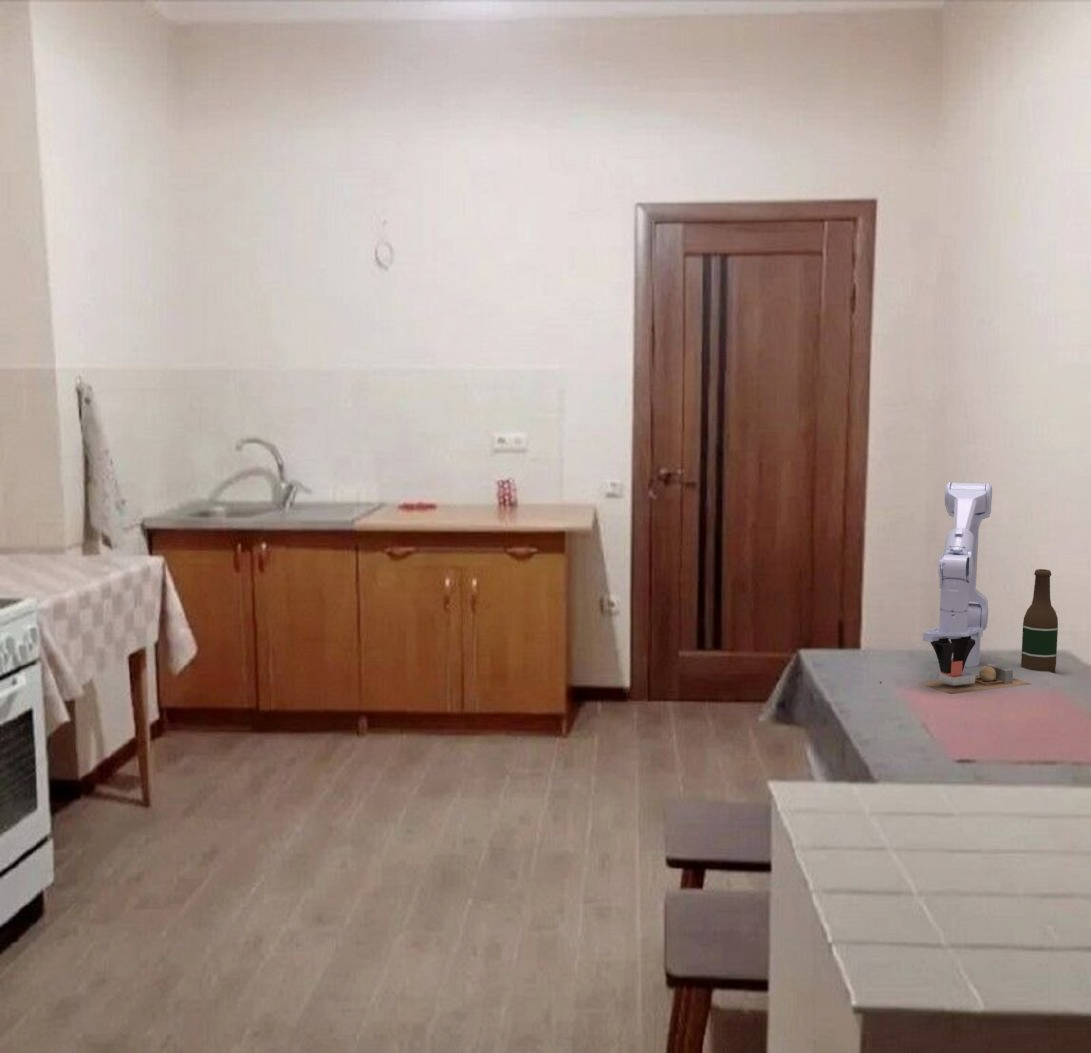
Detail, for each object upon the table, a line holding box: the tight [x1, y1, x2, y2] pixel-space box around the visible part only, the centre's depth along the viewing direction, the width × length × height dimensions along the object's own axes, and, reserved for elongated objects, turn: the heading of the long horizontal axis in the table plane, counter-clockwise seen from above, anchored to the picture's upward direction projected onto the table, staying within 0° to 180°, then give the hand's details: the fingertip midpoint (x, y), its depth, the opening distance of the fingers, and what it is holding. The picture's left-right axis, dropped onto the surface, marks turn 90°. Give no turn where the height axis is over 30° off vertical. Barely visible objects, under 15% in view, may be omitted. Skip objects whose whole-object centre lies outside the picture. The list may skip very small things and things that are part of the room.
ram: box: [938, 658, 976, 686], centre depth 239 cm, size 4×6×5 cm
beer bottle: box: [1020, 568, 1059, 674], centre depth 254 cm, size 8×8×24 cm
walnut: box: [978, 665, 996, 682], centre depth 243 cm, size 4×4×4 cm
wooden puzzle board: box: [919, 663, 1031, 695], centre depth 241 cm, size 10×22×4 cm, turn 111°
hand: (951, 671), depth 239 cm, fingers closed on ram, 3 cm apart
